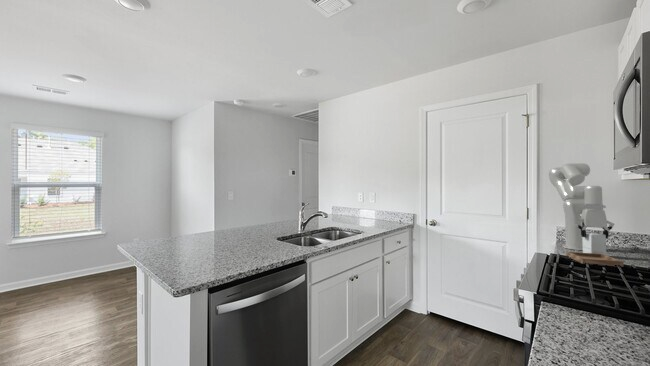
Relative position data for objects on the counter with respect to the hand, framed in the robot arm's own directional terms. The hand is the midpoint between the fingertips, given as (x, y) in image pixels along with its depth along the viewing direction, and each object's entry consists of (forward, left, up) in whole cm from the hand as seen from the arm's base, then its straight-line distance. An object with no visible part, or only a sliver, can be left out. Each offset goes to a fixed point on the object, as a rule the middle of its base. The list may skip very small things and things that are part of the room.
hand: (594, 237), depth 160 cm
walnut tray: (+14, -7, -11) cm, 19 cm away
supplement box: (-1, 0, -11) cm, 11 cm away
